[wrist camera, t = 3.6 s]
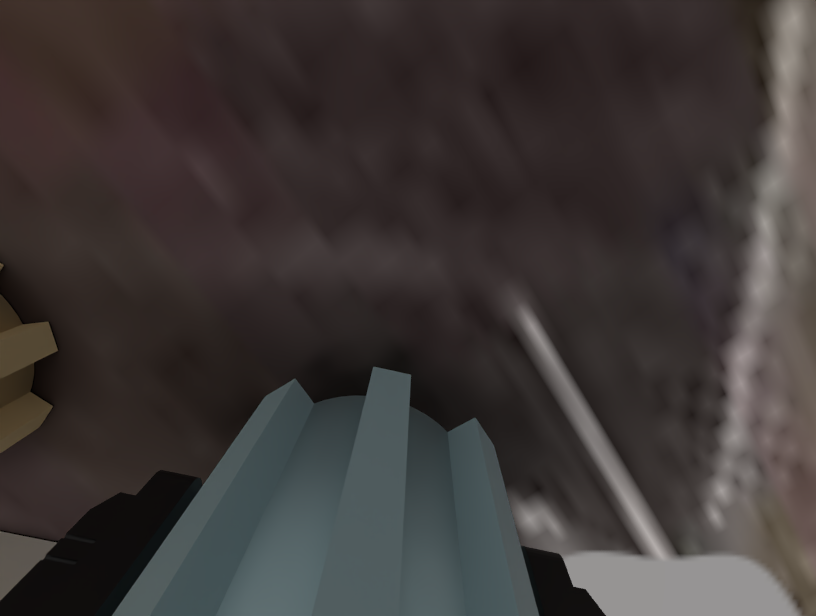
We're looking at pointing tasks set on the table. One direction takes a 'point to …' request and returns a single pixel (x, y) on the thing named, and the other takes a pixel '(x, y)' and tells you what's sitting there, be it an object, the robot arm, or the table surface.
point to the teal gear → (344, 518)
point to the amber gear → (20, 374)
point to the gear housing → (19, 558)
